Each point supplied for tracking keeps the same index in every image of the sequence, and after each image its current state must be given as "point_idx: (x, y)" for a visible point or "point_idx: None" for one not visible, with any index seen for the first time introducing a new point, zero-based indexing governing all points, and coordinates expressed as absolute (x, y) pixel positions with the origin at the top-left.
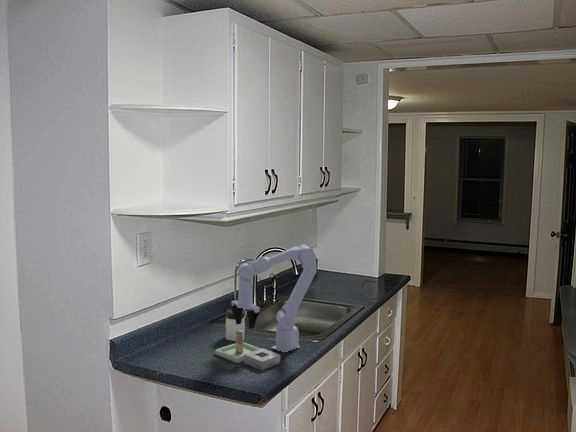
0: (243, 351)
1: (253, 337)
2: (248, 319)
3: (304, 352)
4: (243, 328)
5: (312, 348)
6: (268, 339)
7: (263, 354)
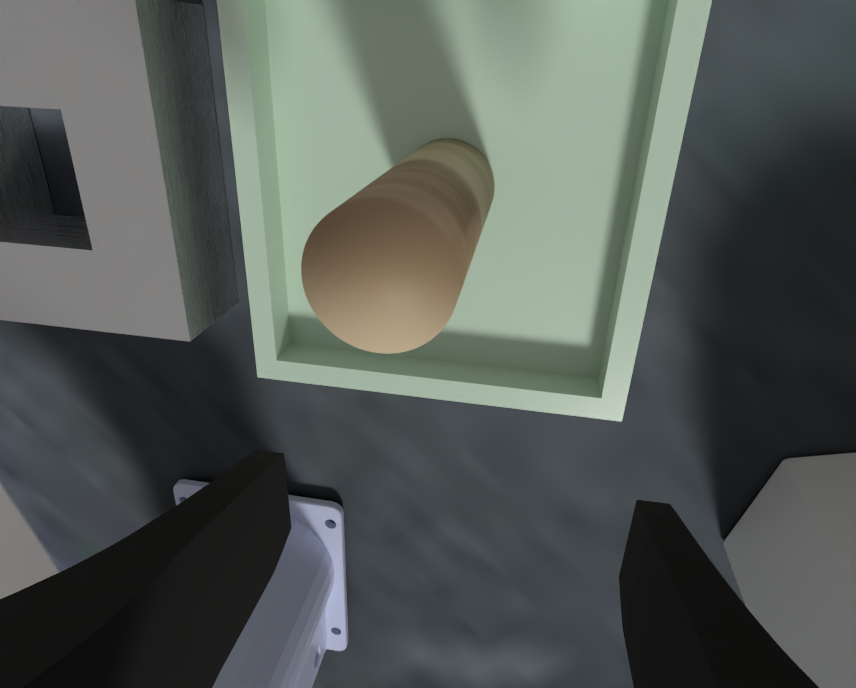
0: None
1: None
2: (148, 574)
3: None
4: None
5: None
6: (523, 642)
7: (90, 241)
